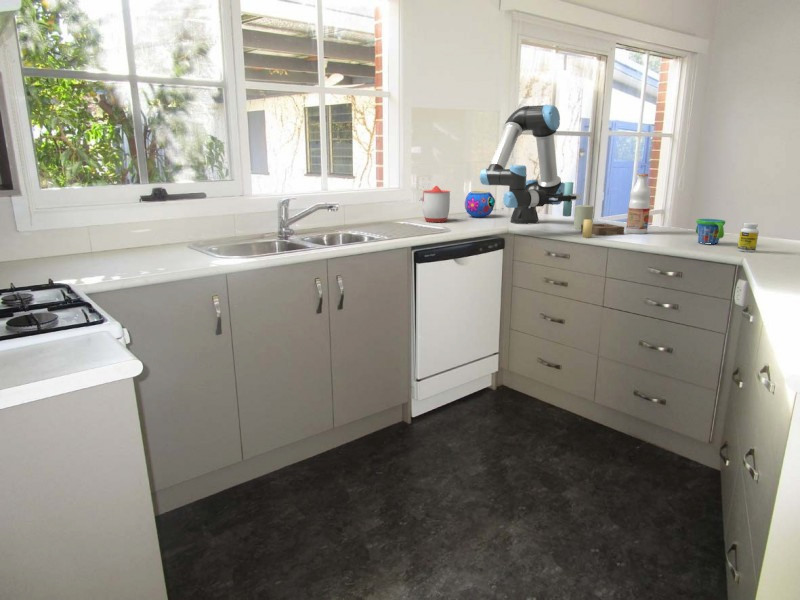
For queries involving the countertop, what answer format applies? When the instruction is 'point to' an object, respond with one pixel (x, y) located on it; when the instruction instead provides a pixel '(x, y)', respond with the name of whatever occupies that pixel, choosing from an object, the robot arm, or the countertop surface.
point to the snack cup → (710, 230)
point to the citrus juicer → (436, 204)
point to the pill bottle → (748, 237)
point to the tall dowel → (567, 205)
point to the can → (582, 214)
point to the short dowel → (587, 228)
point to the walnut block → (605, 229)
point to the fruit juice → (639, 206)
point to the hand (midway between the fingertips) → (577, 196)
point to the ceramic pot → (479, 203)
